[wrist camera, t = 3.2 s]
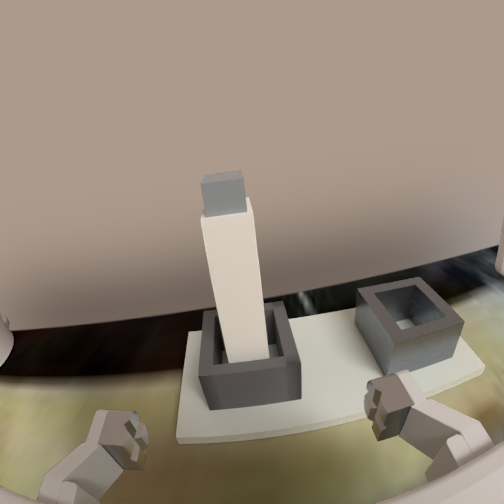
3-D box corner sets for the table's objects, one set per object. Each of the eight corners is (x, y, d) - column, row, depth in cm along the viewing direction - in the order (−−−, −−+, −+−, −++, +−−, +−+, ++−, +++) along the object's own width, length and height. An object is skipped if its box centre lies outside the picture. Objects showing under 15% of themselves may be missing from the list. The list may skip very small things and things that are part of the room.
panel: (179, 444, 19) (157, 405, 17) (191, 339, 31) (179, 299, 29) (481, 373, 20) (500, 330, 18) (419, 300, 32) (425, 262, 30)
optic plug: (234, 389, 23) (194, 186, 16) (233, 356, 27) (200, 174, 20) (272, 384, 23) (249, 178, 17) (266, 352, 27) (245, 168, 20)
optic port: (385, 379, 21) (394, 342, 20) (354, 323, 29) (357, 288, 27) (452, 357, 22) (464, 321, 20) (413, 309, 29) (419, 276, 27)
